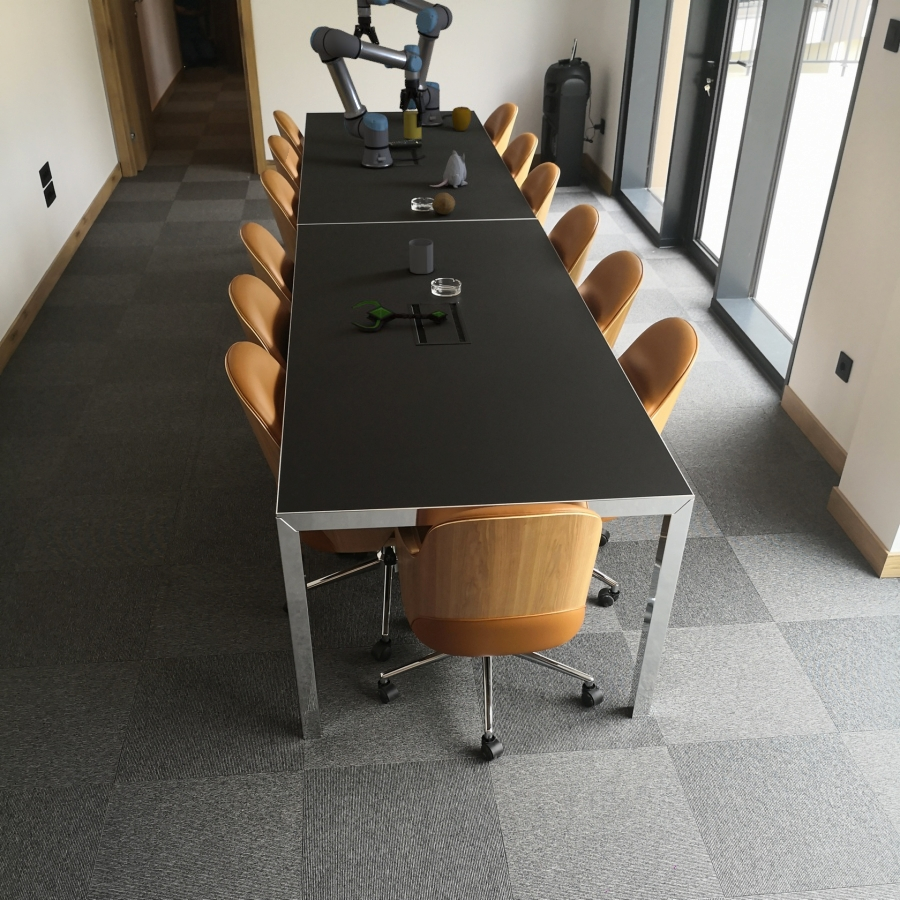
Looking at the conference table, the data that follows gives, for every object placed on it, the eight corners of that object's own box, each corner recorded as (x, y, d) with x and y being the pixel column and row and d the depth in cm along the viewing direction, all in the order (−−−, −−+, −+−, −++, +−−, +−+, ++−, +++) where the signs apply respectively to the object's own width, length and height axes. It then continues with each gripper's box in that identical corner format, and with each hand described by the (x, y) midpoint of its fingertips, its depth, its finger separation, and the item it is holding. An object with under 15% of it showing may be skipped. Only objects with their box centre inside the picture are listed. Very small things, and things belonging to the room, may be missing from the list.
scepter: (447, 295, 270) (351, 293, 268) (448, 326, 263) (349, 324, 261) (446, 308, 275) (351, 306, 273) (447, 339, 268) (350, 337, 266)
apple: (471, 132, 486) (471, 108, 479) (451, 132, 486) (451, 108, 479) (470, 128, 495) (471, 104, 488) (452, 128, 495) (452, 104, 488)
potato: (453, 208, 369) (453, 189, 365) (456, 218, 357) (456, 199, 353) (431, 208, 368) (430, 189, 364) (432, 218, 356) (432, 199, 352)
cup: (409, 265, 311) (408, 238, 306) (432, 265, 312) (431, 238, 307) (410, 274, 304) (409, 246, 299) (433, 273, 305) (433, 246, 299)
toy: (472, 184, 399) (472, 151, 391) (436, 195, 384) (436, 161, 376) (457, 180, 404) (458, 147, 396) (422, 191, 389) (421, 157, 381)
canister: (406, 139, 444) (406, 114, 438) (401, 135, 452) (401, 111, 445) (423, 138, 447) (423, 113, 440) (418, 134, 454) (418, 110, 448)
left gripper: (433, 80, 430) (433, 127, 442) (402, 75, 443) (402, 121, 455) (422, 82, 426) (422, 130, 438) (391, 76, 438) (392, 123, 450)
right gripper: (344, 14, 489) (346, 55, 500) (375, 18, 475) (376, 60, 486) (354, 13, 493) (356, 54, 505) (384, 17, 479) (386, 58, 491)
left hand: (412, 125), depth 446 cm, fingers closed on canister, 9 cm apart
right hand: (366, 57), depth 496 cm, fingers open, 13 cm apart
